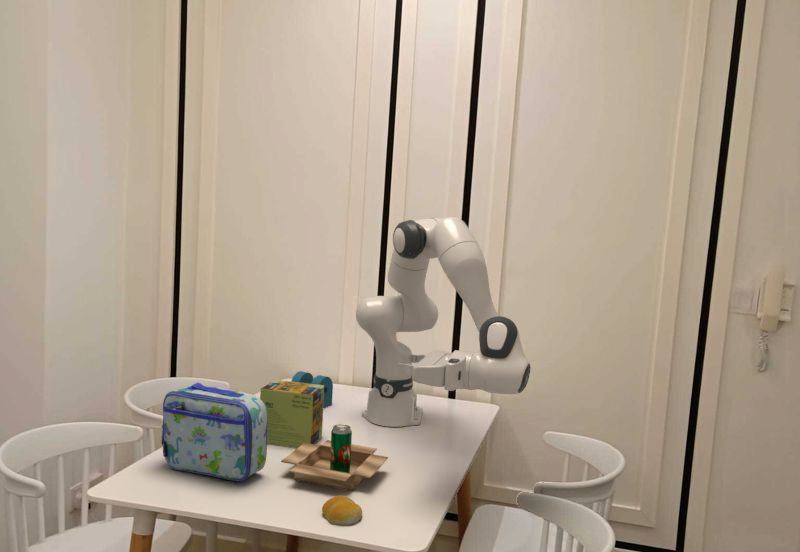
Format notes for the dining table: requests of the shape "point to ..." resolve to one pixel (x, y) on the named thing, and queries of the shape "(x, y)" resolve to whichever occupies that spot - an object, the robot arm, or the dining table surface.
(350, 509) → the bread roll
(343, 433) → the soda can
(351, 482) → the carton
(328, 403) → the camera mount
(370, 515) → the dining table surface
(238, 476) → the lunch box
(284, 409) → the protein box
